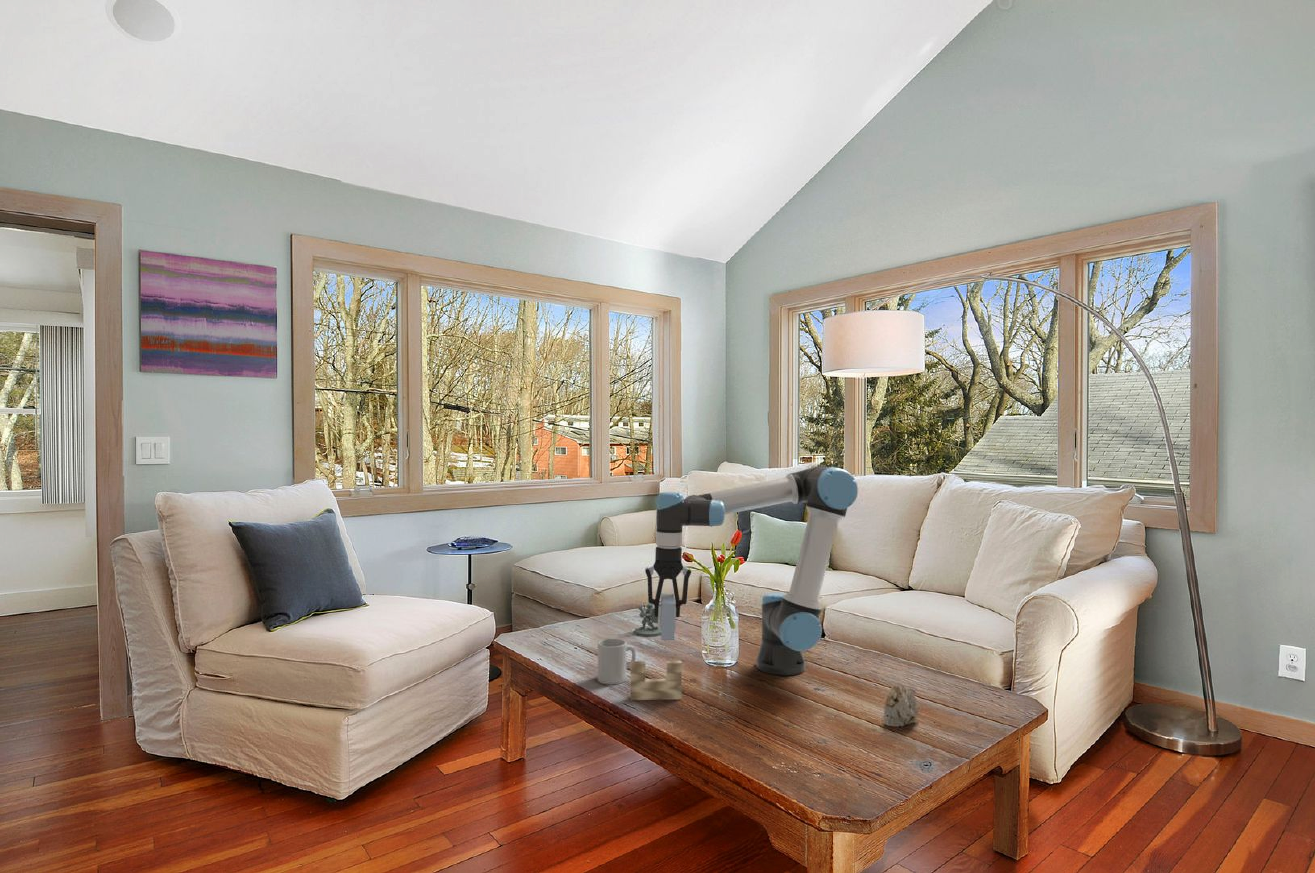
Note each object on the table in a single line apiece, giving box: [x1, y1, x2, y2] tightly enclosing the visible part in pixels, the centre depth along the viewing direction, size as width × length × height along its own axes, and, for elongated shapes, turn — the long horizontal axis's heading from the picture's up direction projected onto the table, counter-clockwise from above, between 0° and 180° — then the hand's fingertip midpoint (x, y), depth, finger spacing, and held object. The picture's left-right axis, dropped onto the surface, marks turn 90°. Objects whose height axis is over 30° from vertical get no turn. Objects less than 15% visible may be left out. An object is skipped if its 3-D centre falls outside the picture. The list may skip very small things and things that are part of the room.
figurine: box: [634, 600, 661, 638], centre depth 254 cm, size 11×11×12 cm
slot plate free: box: [660, 592, 676, 641], centre depth 193 cm, size 12×4×10 cm, turn 1°
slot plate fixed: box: [630, 660, 683, 701], centre depth 190 cm, size 14×2×10 cm, turn 92°
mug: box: [597, 638, 637, 685], centre depth 206 cm, size 12×8×11 cm
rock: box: [883, 685, 920, 728], centre depth 176 cm, size 12×7×10 cm, turn 133°
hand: (666, 627), depth 197 cm, fingers closed on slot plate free, 3 cm apart
